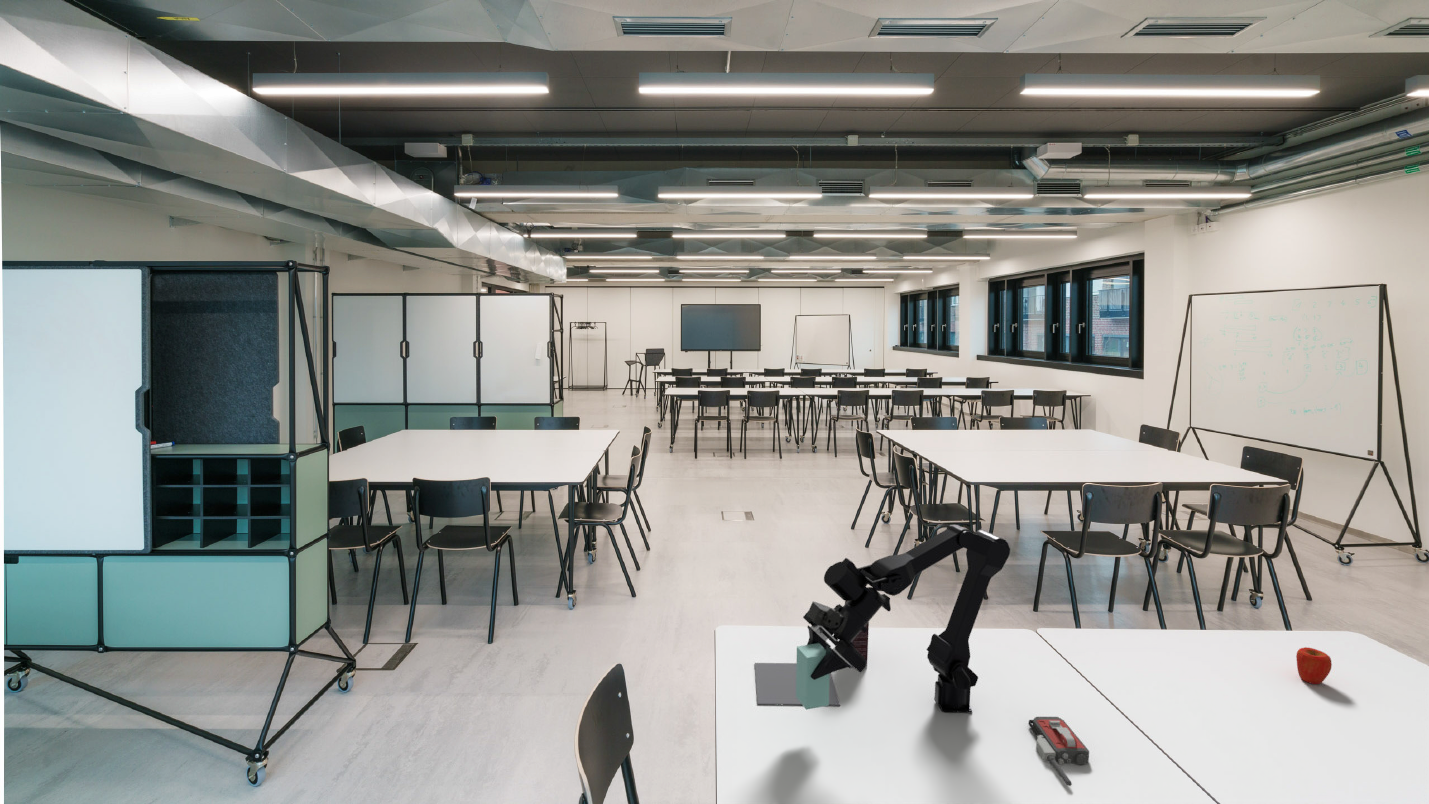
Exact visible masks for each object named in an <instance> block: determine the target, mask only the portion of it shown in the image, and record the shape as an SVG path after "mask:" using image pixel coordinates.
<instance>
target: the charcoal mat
mask: <svg viewBox="0 0 1429 804" xmlns="http://www.w3.org/2000/svg"><path fill="white" fill-rule="evenodd" d="M796 667H797V662H795V663H793V662H791V663H790V662H788V663H787V662H779V663H778V662H754V672H755V683H756V684H755V685H756V686H755V687H756V701H757V702H756V703H757V705H758V706H762V705H763V706H765V705H766V706H776V705H775V704H778V705H777V706H803V705H802V704H801V702H800V701H799V700H798V699H797V697H796ZM781 704H783V705H781ZM829 706H831V707H832V706H835V707H838V706H841V705H840V700H839V697H838V693H837V689H836V686H835V682H834V678H833V674H832V673H830V676H829Z"/></svg>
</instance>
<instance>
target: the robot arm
mask: <svg viewBox="0 0 1429 804" xmlns="http://www.w3.org/2000/svg"><path fill="white" fill-rule="evenodd" d="M963 548H964V549H966V553H965V556H966V562H967V564H966V565H967V570H966V573H965V576H964V578H963V582H962V583H961V584H962V585H961V587H960V590H959V592H958V595H957V598H956V601H955V603H954V606H953V609H952V612H951V615H950V616H949V620H948V622H947V625H946V628H945V630H943V631H942V632H941V633H939V635H938V634H936V633H933V634H932V635H931V638H930V643H929V644H928V646H927V648H926V651H927V657H926V658H927V659H928V662H929V664H930V665H931V666H932V669H933V670H934V671H935V673H936V672H937V673H938V674H937V680H936V681H935V684H934V700H935V701H936V703H937V705H938V706H939V709H941V712H943V713H972V712H973V707H972V706H971V704H970V703H971V689H972V688H971V687H975V686H976V684H977V682H978V679H979V676H978V675H977V674H976V673H975V672H974V671H973V670H972V669H971V668H969V664H970V659H971V650H970V643H969V639H970V636H971V634H972V631H973V628H974V626H975V623H976V620H977V617H978V614H979V613H980V612H979V611H980V609H981V606H982V603H983V601H984V598H985V595H986V592H987V589H988V586H989V584H990V581H991V579H992V578H993V577H994V576H995V575H996V574H998V573H999V572H1001V571H1002V569H1003V568H1004V566H1005V565H1006V562H1007V561H1008V559H1009V557H1010V553H1011V547H1010V546H1009V542H1008V541H1007V540H1006V539H1004V538H1002V537H999V536H998V535H995V534H994V533H991V532H989V531H986V530H984V529H980V530H977V531H974V530H970V529H968V528H966V527H965V528H964V527H962V526H961V525H958V524H950V525H948V526H947V527H946V528H945V530H943V531H942V532H939V533H938V534H936V535H934V536H932V537H931V538H929V539H927V540H925V541H924V542H922V543H920V544H919V545H916V546H915V547H913V548H911V549H910V550H907V551H906V552H904V553H901V554H892V555H887V556H884V557H882V558H879V559H876V560H875V561H873V562H872V563H871V564H868V565H864V566H862V567H857V566H856V565H855V563H854V562H853V561H852V560H850V559H849V558H847V557H845V558H844V559H842V561H838V562H835V563H833V564H832V565H830V566H829V567H828V568H827V569H826V571H825V573H824V576H823V582H824V583H825V584H826V585H827V586H828V587H829V589H831V590H832V591H833V592H834V593H835V594H836V595H837V596H839V597H840V598H841V600H843V601H844V602H845V601H847V602H846V603H847V604H845V603H844V605H841V604H840V603H839V604H836V606H834V608H832V607H830V606H828V605H825V604H822V603H819V602H816V601H812V603H811V605H810V607H809V609H808V611H807V612H806V613H805V614H804V615H803V618H802V619H804V620H805V621H806V622H807V623H808V624H809V625H807V629H808V634H809V637H808V641H807V642H806V643H807V644H806V645H810V644H816V643H819V644H820V645H821V646H822V647H823V648H824V649H825V650H826V654H825V656H824V657H823V659H822V660H821V661H820V663H819V664H818V665H817V667H816V668H815V670H814V671H813V673H812V674H811V678H812V679H814V680H815V679H818V678H820V677H822V676H825V675H827V674H830V673H831V674H832V673H834V672H837V671H840V670H843V669H846V668H848V669H851V668H854V669H855V670H856V671H858V673H859V674H861V673H863V671H864V670H865V669H866V668H867V667H868V658H867V659H866V658H865V657H864V656H863V655H861V654H860V653H859V652H858V651H857V650H856V649H855V648H854V644H853V643H852V641H853V640H854V638H855V637H856V636H857V635H858V634H859V632H860V631H862V632H864V633H865V632H866V631H867V630H868V629H867V628H866V627H865V625H866V624H867V622H869V623H870V621H871V619H873V617H874V616H875V615H876V613H877V612H878V611H879V610H880V609H881V608H883V609H884V610H886V611H887V612H891V598H890V596H891V597H893V596H894V597H895V596H899V595H900V594H901V593H903V592H904V591H905V590H906V589H907V588H908V587H910V586H911V585H912V583H913V582H914V579H915V578H916V577H917V575H918V574H920V573H921V572H923V571H924V570H927V569H929V568H930V567H932V566H933V565H936V564H938V563H939V562H941V561H942V560H944V559H946V558H947V557H950V556H951V555H953V554H955V553H956V552H958V551H960V550H961V549H963ZM868 585H869V587H867V586H868ZM880 592H883V593H882V594H881V593H880ZM888 595H889V596H888ZM866 621H867V622H866ZM810 625H811V626H810ZM868 631H869V630H868ZM827 640H829V641H830V642H831V643H832V644H833V645H834V647H833V648H832V645H830V644H829V643H828V642H827ZM849 664H851V665H852V666H853V667H851V666H850V665H849ZM866 666H867V667H866Z"/></svg>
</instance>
